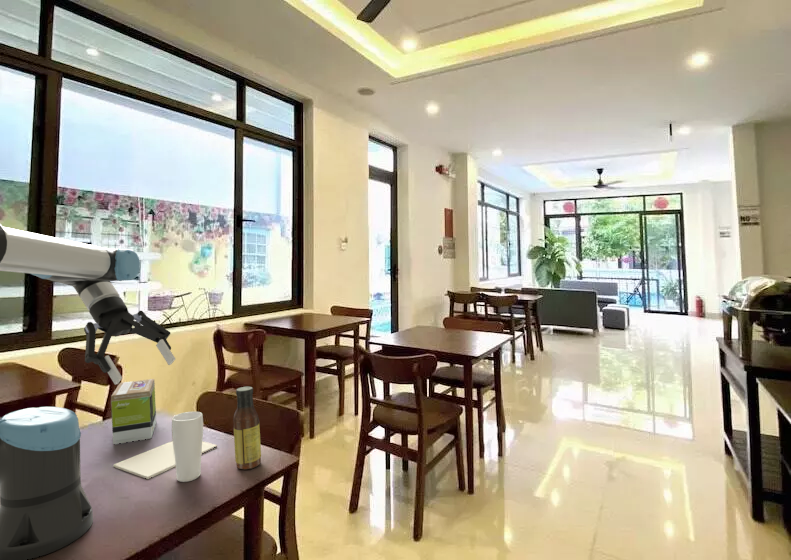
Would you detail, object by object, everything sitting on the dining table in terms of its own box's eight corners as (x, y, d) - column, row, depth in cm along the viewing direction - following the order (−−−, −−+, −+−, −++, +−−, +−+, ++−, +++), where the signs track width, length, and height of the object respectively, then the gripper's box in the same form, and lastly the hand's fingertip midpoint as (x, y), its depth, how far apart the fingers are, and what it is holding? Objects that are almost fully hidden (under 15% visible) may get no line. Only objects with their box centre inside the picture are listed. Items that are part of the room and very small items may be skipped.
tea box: (120, 427, 134) (119, 381, 133) (157, 422, 138) (156, 377, 137) (111, 445, 120) (110, 394, 119) (152, 439, 124) (151, 389, 124)
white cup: (191, 486, 97) (190, 422, 97) (166, 483, 99) (164, 420, 98) (209, 472, 104) (208, 412, 103) (185, 469, 105) (184, 410, 105)
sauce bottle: (264, 459, 110) (263, 384, 110) (256, 471, 104) (254, 391, 104) (239, 459, 111) (238, 384, 110) (230, 471, 104) (228, 391, 104)
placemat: (147, 479, 100) (147, 476, 100) (113, 466, 107) (113, 464, 107) (217, 447, 118) (217, 445, 118) (184, 438, 125) (184, 436, 125)
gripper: (146, 302, 120) (185, 362, 116) (42, 324, 98) (86, 399, 94) (156, 286, 117) (197, 347, 113) (52, 305, 95) (98, 382, 91)
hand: (147, 371), depth 104 cm, fingers open, 13 cm apart
